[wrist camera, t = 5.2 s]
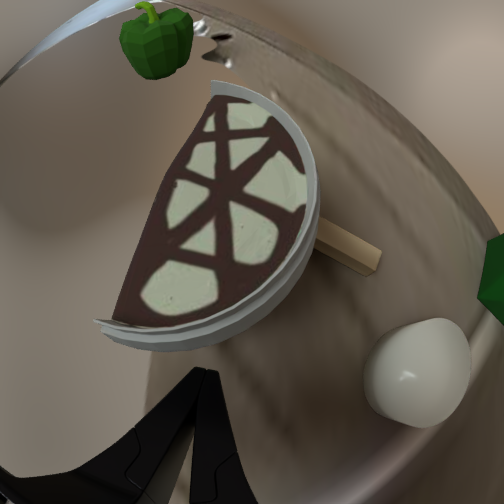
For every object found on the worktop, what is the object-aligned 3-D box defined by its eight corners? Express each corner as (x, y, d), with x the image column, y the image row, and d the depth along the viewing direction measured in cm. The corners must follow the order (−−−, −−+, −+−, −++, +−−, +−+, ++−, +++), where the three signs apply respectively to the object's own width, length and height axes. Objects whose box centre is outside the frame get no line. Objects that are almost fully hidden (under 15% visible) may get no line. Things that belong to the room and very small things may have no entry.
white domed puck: (415, 427, 14) (446, 436, 11) (345, 401, 15) (371, 411, 12) (447, 345, 17) (480, 340, 13) (385, 310, 18) (416, 299, 14)
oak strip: (366, 277, 18) (375, 270, 17) (177, 178, 20) (173, 167, 19) (372, 258, 19) (382, 251, 17) (189, 164, 21) (186, 152, 20)
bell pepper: (206, 71, 26) (202, -2, 17) (139, 96, 24) (119, 21, 15) (182, 49, 29) (176, -11, 19) (125, 69, 27) (109, 9, 17)
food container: (262, 374, 16) (293, 404, 6) (168, 347, 16) (88, 337, 7) (301, 204, 20) (341, 100, 11) (222, 185, 20) (215, 74, 11)
